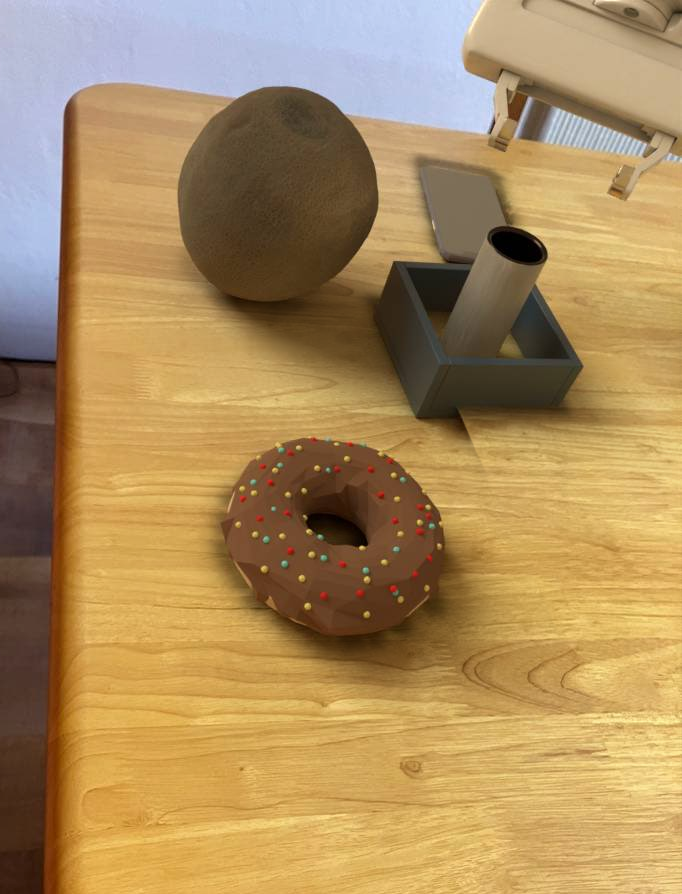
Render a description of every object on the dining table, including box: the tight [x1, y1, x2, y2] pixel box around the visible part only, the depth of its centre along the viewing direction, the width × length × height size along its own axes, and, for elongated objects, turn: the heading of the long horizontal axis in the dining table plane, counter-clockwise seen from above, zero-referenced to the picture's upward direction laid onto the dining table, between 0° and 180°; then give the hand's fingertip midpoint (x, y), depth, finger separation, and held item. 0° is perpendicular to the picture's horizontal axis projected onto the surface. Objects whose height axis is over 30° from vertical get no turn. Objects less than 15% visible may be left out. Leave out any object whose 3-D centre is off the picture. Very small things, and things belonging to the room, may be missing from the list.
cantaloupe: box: [176, 85, 380, 302], centre depth 65 cm, size 14×14×15 cm
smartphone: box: [419, 165, 508, 265], centre depth 83 cm, size 8×1×15 cm
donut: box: [219, 435, 446, 637], centre depth 53 cm, size 14×14×5 cm
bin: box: [373, 260, 585, 419], centre depth 68 cm, size 12×12×5 cm
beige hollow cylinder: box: [439, 225, 549, 358], centre depth 65 cm, size 4×4×10 cm
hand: (556, 170), depth 64 cm, fingers open, 8 cm apart
